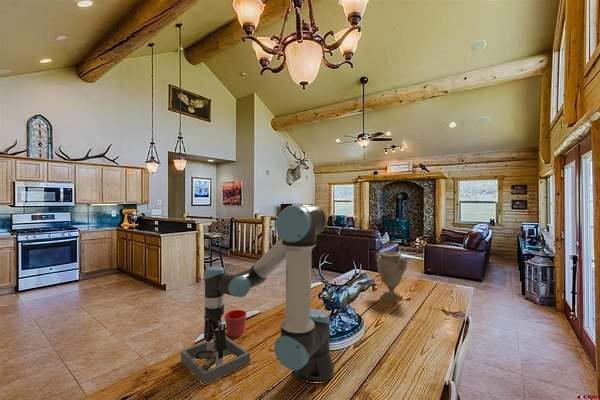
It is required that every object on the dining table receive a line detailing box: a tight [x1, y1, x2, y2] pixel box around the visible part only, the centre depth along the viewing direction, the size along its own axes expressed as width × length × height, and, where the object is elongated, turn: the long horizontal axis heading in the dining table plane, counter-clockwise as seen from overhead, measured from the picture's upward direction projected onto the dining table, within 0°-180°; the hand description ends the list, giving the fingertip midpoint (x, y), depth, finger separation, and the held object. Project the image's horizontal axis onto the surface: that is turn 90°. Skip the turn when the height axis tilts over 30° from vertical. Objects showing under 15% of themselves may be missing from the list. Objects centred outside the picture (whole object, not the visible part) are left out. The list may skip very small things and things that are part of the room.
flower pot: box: [224, 309, 247, 338], centre depth 140 cm, size 11×11×10 cm
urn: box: [375, 251, 408, 303], centre depth 187 cm, size 24×18×30 cm
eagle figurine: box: [195, 347, 217, 371], centre depth 113 cm, size 8×7×9 cm
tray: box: [180, 336, 251, 385], centre depth 115 cm, size 21×19×4 cm
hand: (214, 360), depth 116 cm, fingers open, 7 cm apart
